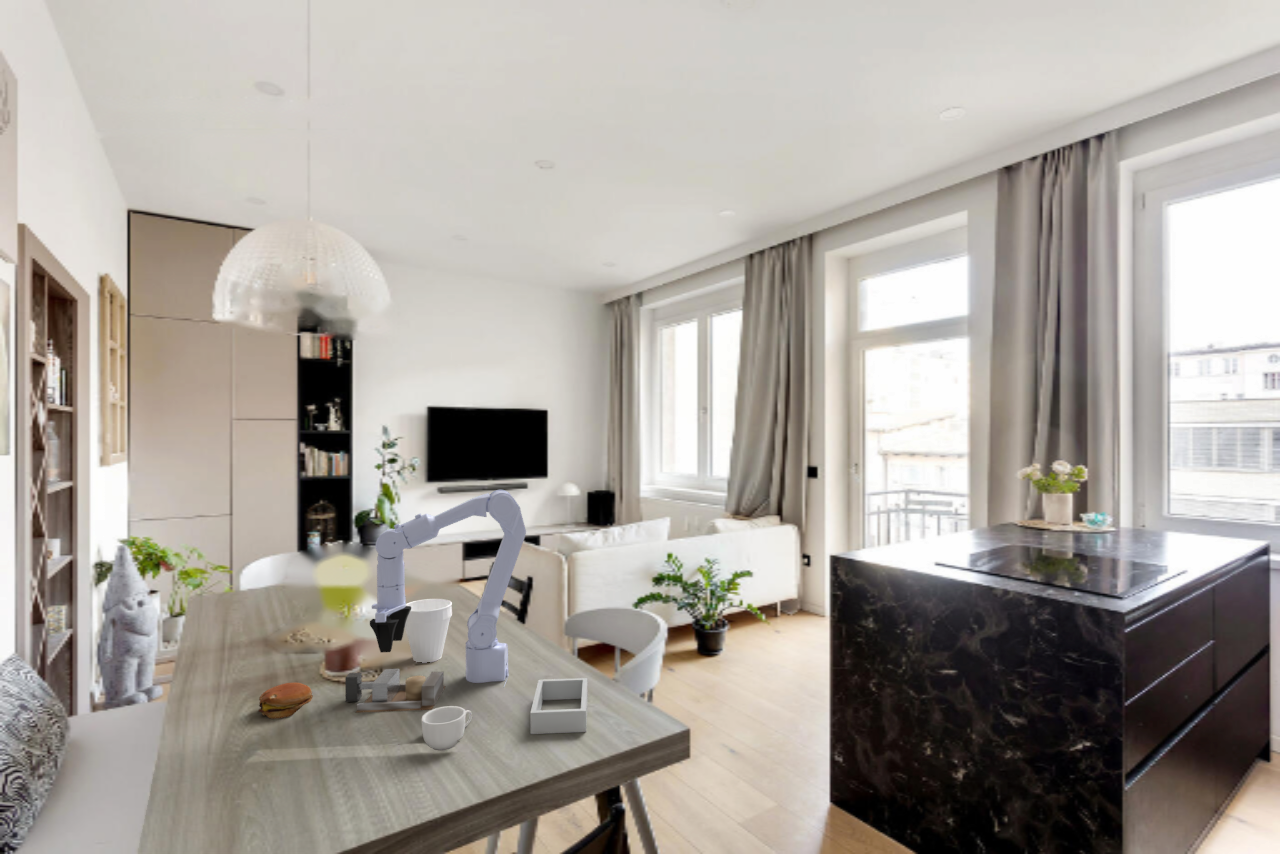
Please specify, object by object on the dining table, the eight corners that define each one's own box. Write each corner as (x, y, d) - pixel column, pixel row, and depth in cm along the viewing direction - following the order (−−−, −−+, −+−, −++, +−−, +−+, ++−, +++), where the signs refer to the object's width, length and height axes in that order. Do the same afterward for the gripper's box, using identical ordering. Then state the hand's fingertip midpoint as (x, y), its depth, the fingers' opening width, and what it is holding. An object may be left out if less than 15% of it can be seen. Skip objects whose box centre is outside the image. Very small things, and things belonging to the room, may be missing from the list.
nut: (427, 694, 137) (427, 675, 137) (422, 701, 133) (422, 682, 133) (408, 694, 137) (408, 675, 137) (403, 702, 133) (402, 683, 133)
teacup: (437, 759, 112) (437, 728, 112) (413, 746, 117) (413, 716, 117) (484, 737, 120) (484, 709, 120) (460, 726, 125) (459, 698, 125)
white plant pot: (432, 669, 156) (432, 613, 156) (391, 664, 160) (390, 609, 160) (462, 652, 167) (461, 600, 168) (422, 648, 171) (422, 597, 171)
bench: (445, 693, 141) (445, 667, 141) (431, 716, 129) (431, 689, 129) (376, 695, 140) (376, 670, 140) (355, 719, 128) (355, 692, 128)
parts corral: (587, 696, 138) (587, 677, 139) (586, 731, 122) (585, 710, 122) (538, 698, 138) (538, 679, 138) (530, 734, 121) (530, 712, 121)
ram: (399, 689, 139) (399, 666, 139) (387, 705, 131) (387, 680, 131) (355, 691, 138) (354, 668, 138) (340, 707, 130) (339, 682, 130)
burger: (318, 698, 139) (318, 677, 139) (303, 717, 130) (303, 694, 130) (268, 702, 138) (268, 680, 138) (250, 722, 128) (250, 698, 128)
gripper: (383, 577, 149) (383, 636, 149) (360, 592, 134) (360, 657, 134) (414, 576, 149) (414, 635, 149) (394, 591, 135) (395, 656, 135)
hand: (391, 645), depth 142 cm, fingers open, 7 cm apart
